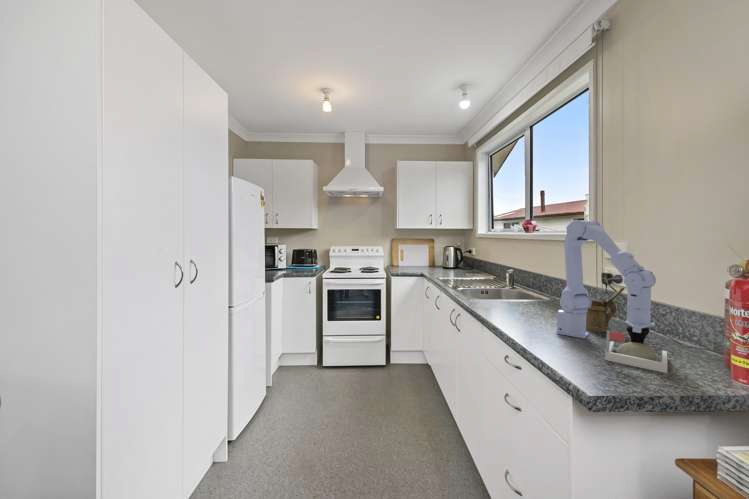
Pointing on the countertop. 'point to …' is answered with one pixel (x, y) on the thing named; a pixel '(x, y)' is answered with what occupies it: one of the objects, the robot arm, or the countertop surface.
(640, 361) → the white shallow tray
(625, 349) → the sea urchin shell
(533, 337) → the countertop surface
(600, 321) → the wooden mug
